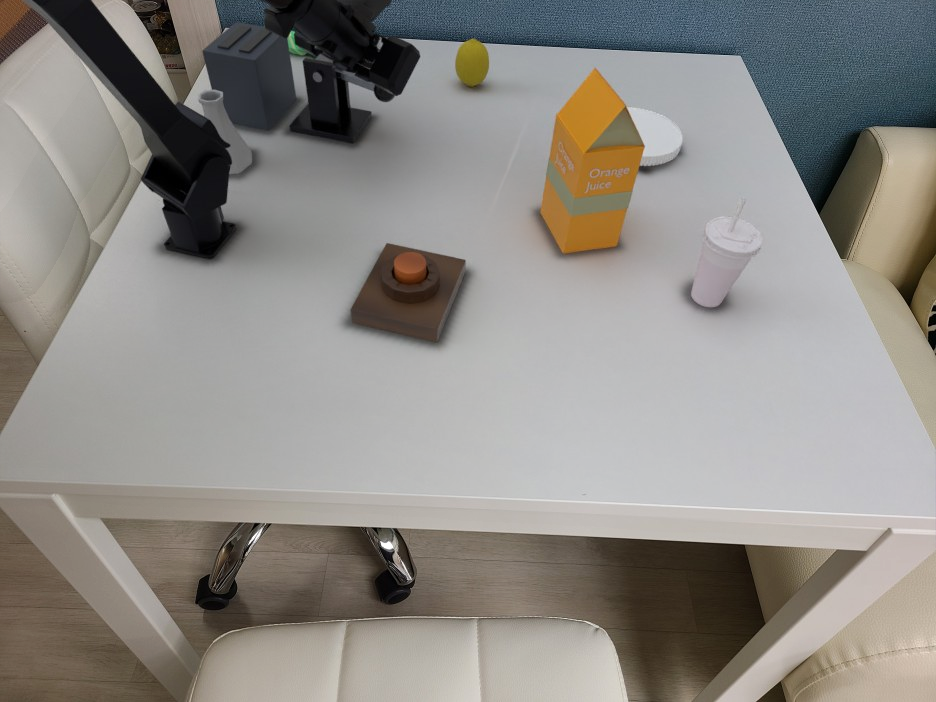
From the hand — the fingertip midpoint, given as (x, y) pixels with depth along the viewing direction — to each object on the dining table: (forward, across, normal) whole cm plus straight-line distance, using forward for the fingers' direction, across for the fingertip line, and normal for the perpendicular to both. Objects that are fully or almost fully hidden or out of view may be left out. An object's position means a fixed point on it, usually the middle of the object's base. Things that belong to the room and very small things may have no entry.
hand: (388, 75), depth 95 cm
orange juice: (+7, -34, +6) cm, 35 cm away
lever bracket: (+3, +8, +10) cm, 13 cm away
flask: (-9, +11, +22) cm, 26 cm away
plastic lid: (+23, -29, -10) cm, 38 cm away
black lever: (0, +4, +4) cm, 6 cm away
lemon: (+21, +1, -7) cm, 22 cm away
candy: (+12, +30, +2) cm, 32 cm away
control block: (-10, -26, +23) cm, 37 cm away
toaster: (0, +19, +13) cm, 23 cm away
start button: (-13, -26, +21) cm, 36 cm away
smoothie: (+7, -53, +6) cm, 53 cm away
